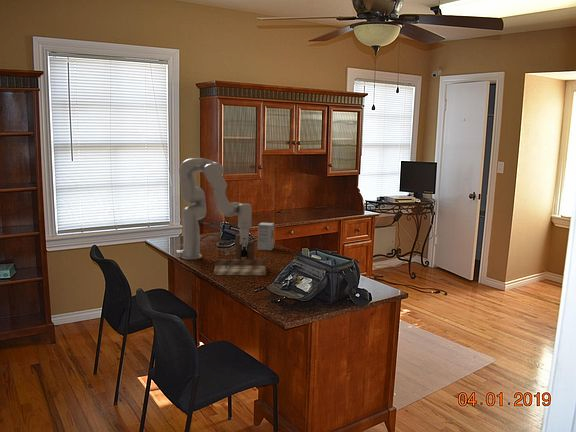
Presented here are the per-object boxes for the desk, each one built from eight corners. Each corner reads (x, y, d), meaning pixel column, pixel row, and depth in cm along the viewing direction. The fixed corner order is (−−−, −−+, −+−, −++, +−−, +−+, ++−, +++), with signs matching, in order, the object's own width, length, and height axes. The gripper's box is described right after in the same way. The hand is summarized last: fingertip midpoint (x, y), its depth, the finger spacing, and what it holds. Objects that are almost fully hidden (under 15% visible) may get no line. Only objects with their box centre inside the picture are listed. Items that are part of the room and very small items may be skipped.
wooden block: (253, 264, 295) (254, 234, 292) (235, 265, 291) (236, 235, 288) (252, 263, 298) (252, 233, 295) (234, 264, 295) (234, 234, 292)
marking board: (213, 274, 272) (213, 265, 271) (215, 267, 286) (215, 259, 285) (265, 275, 274) (266, 266, 273) (265, 268, 288) (265, 259, 287)
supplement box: (271, 250, 330) (271, 225, 327) (257, 249, 331) (257, 224, 328) (273, 247, 339) (274, 222, 336) (260, 246, 341) (261, 222, 338)
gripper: (238, 222, 299) (238, 252, 302) (237, 227, 282) (237, 259, 285) (251, 222, 300) (250, 252, 303) (251, 227, 283) (250, 259, 286)
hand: (244, 255), depth 294 cm, fingers open, 4 cm apart
